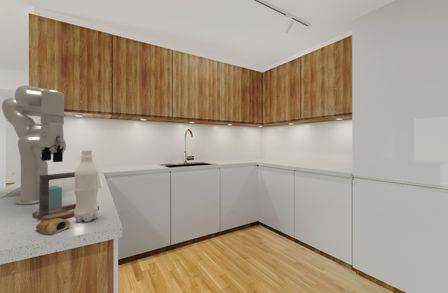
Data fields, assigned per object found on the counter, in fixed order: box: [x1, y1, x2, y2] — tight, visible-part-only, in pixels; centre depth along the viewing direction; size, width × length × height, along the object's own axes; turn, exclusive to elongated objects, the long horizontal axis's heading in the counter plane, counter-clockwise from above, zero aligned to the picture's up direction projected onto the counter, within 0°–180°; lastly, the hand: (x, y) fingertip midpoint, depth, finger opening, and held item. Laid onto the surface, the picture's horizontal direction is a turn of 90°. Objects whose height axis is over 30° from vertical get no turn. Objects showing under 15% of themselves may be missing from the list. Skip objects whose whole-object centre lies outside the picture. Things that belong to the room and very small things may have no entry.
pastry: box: [35, 218, 71, 236], centre depth 66 cm, size 9×7×4 cm
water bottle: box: [73, 150, 99, 223], centre depth 75 cm, size 7×7×25 cm
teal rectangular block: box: [49, 185, 63, 209], centre depth 87 cm, size 6×5×9 cm
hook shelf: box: [31, 171, 100, 222], centre depth 82 cm, size 13×17×16 cm
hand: (51, 161), depth 87 cm, fingers open, 9 cm apart
